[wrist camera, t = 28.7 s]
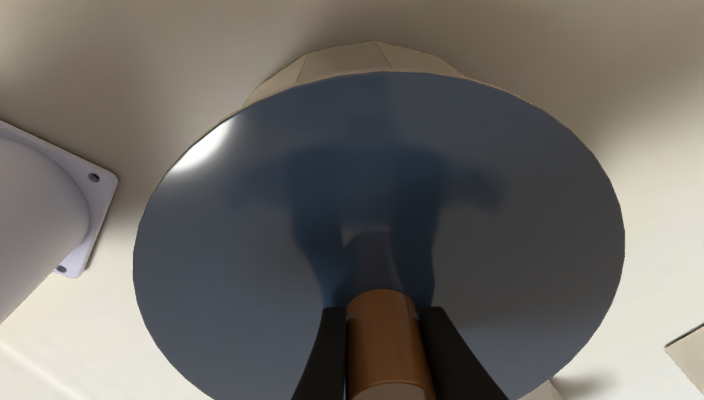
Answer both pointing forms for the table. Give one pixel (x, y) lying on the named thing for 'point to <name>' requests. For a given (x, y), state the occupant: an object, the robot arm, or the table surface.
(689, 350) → the milk carton
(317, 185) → the lid
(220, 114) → the table surface
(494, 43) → the table surface
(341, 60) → the pot
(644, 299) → the table surface
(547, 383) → the flask
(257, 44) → the table surface
